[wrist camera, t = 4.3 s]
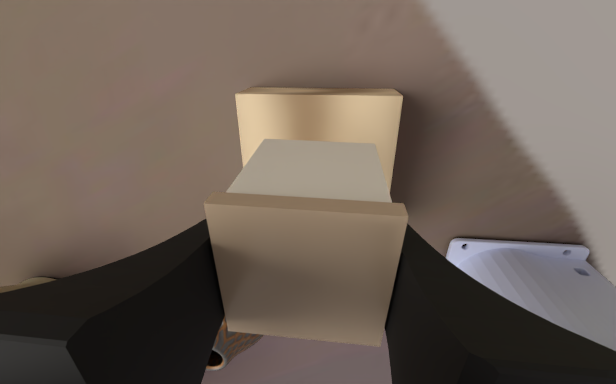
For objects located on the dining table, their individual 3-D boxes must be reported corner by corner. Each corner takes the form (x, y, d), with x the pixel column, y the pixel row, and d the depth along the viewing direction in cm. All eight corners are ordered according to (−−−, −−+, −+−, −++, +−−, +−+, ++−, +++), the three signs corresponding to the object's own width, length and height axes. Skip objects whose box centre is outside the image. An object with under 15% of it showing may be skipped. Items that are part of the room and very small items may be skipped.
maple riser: (393, 88, 18) (403, 95, 15) (378, 215, 22) (383, 238, 19) (250, 87, 19) (235, 93, 16) (261, 209, 23) (250, 230, 20)
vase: (209, 223, 24) (144, 309, 16) (292, 237, 24) (267, 331, 16) (211, 285, 27) (158, 382, 19) (284, 297, 27) (260, 401, 19)
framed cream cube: (380, 139, 11) (408, 216, 7) (366, 237, 14) (380, 346, 9) (259, 133, 12) (203, 203, 7) (266, 230, 14) (228, 331, 9)
